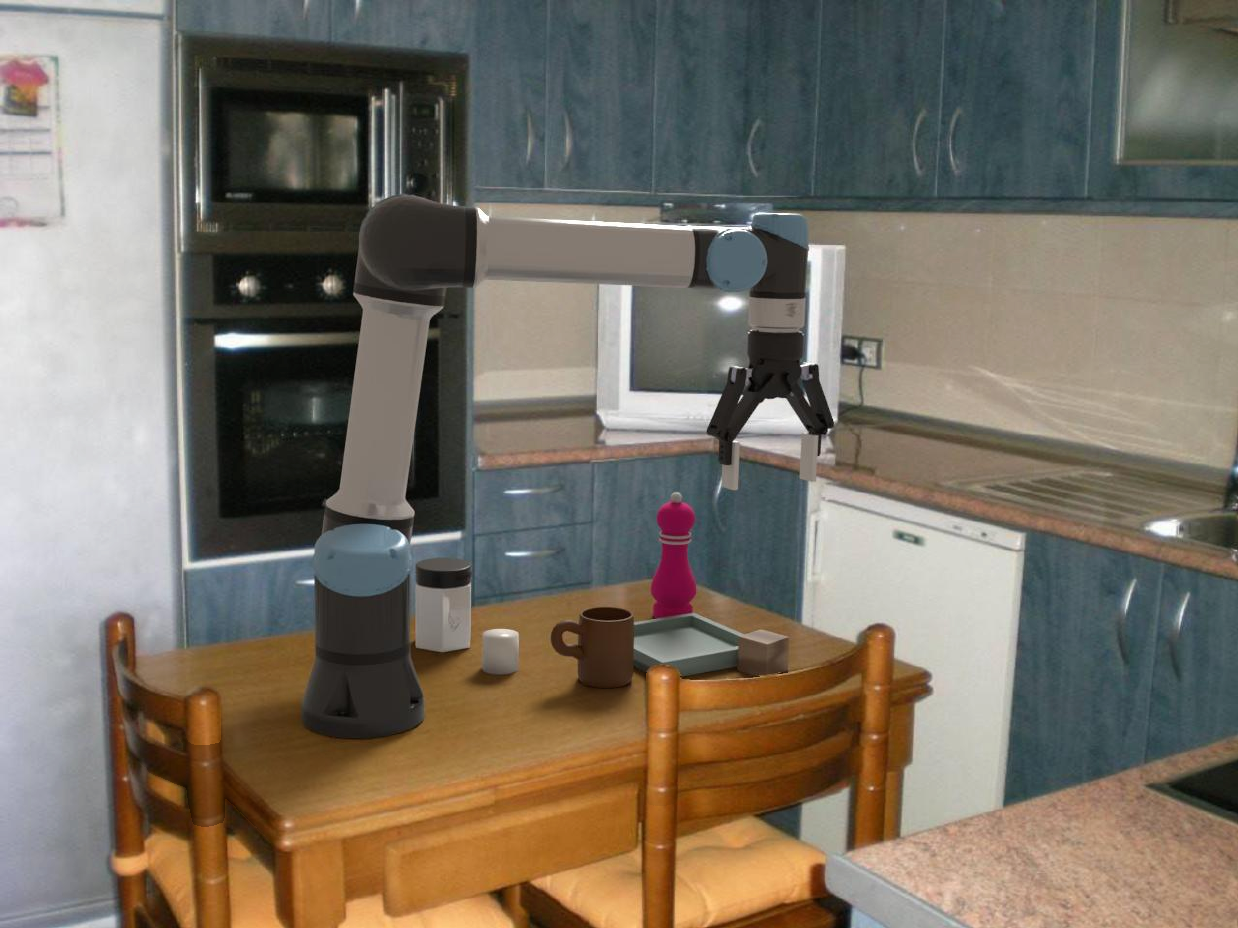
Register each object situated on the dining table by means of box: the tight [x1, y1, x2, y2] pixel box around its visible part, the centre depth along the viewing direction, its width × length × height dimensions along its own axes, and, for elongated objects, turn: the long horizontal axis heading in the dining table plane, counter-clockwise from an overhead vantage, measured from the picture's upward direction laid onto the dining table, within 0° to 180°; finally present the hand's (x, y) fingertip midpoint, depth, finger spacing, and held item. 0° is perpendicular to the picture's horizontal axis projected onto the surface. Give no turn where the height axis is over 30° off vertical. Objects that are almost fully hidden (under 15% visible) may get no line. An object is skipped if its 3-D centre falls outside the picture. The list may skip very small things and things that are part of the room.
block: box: [736, 629, 790, 677], centre depth 202 cm, size 5×5×5 cm
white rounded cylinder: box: [481, 628, 520, 675], centre depth 200 cm, size 5×5×5 cm
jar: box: [414, 557, 473, 653], centre depth 210 cm, size 9×8×12 cm
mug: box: [550, 606, 635, 689], centre depth 194 cm, size 12×8×9 cm, turn 117°
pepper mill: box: [650, 491, 697, 619], centre depth 226 cm, size 7×7×20 cm
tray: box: [633, 612, 744, 678], centre depth 209 cm, size 18×18×2 cm
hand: (769, 484), depth 197 cm, fingers open, 13 cm apart
